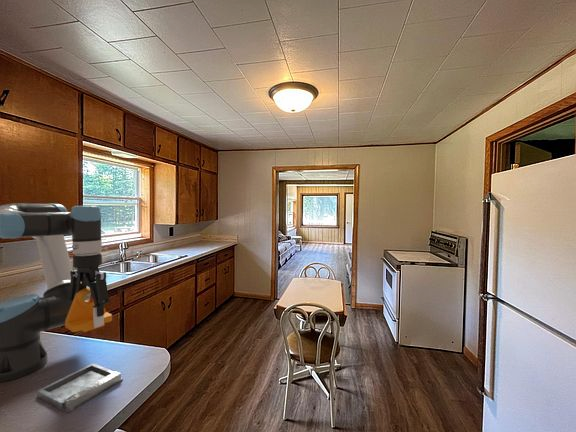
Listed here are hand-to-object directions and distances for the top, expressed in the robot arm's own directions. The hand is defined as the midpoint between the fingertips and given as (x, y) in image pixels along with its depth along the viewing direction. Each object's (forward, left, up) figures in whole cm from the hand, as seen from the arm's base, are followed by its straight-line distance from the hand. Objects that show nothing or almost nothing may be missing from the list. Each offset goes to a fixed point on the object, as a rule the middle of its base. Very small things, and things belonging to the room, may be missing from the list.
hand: (89, 324), depth 88 cm
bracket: (0, 0, -1) cm, 1 cm away
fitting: (+4, -5, -17) cm, 18 cm away
